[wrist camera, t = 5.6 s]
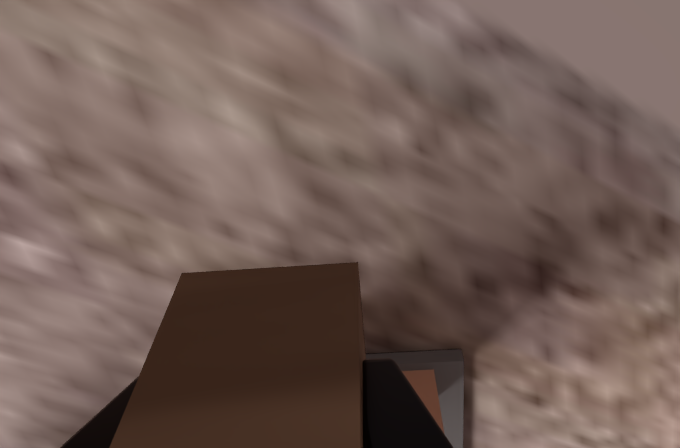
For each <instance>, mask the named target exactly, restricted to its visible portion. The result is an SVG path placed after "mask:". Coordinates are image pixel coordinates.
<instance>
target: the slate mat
mask: <svg viewBox="0 0 680 448" xmlns="http://www.w3.org/2000/svg"><path fill="white" fill-rule="evenodd" d="M378 358H391V359H393V360H394V361H395V362H396V363H397V365H398V366H399V368H400V369H401V371H413V370H432V369H434V374H435V380H436V386H437V392H438V398H439V404H440V410H441V416H442V422H443V428H444V434H445V436H446V437H447V439H448V440H449V441H450V443H451V444H452V446H453V447H454V448H463V408H464V358H463V354H462V350H461V349H454V350H435V351H417V352H398V353H380V354H366V359H378Z"/></svg>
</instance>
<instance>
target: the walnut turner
mask: <svg viewBox="0 0 680 448" xmlns="http://www.w3.org/2000/svg"><path fill="white" fill-rule="evenodd" d="M365 359H366V354H365V342H364V330H363V318H362V306H361V293H360V281H359V269H358V262H356V263H340V264H324V265H307V266H291V267H275V268H259V269H242V270H226V271H210V272H194V273H182V274H181V277H180V279H179V282H178V284H177V286H176V289H175V291H174V294H173V296H172V298H171V301H170V303H169V306H168V308H167V310H166V313H165V315H164V318H163V320H162V322H161V325H160V327H159V330H158V332H157V334H156V337H155V339H154V342H153V344H152V346H151V349H150V351H149V354H148V356H147V358H146V361H145V363H144V366H143V368H142V371H141V373H140V375H139V378H138V380H137V383H136V385H135V387H134V390H133V392H132V395H131V397H130V399H129V402H128V404H127V407H126V409H125V411H124V414H123V416H122V419H121V421H120V423H119V426H118V428H117V431H116V433H115V435H114V438H113V440H112V443H111V445H110V447H109V448H364V446H363V360H365Z"/></svg>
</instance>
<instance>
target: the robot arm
mask: <svg viewBox="0 0 680 448" xmlns="http://www.w3.org/2000/svg"><path fill="white" fill-rule="evenodd" d="M138 378H139V377H137V378H136V379H135V380H134V381H133V382H132V383H131V384H130V385H129V386H128V387H126V388H125V389H124V390H123V391H122V392H121V393H120V394H119V395H118V396H117V397H115V398H114V399H113V400H112V401H111V402H110V403H109V404H108V405H107V406H105V407H104V408H103V409H102V410H101V411H100V412H99V413H98V414H97V415H96V416H94V417H93V418H92V419H91V420H90V421H89V422H88V423H87V424H86V425H85V426H83V427H82V428H81V429H80V430H79V431H78V432H77V433H76V434H75V435H74V436H72V437H71V438H70V439H69V440H68V441H67V442H66V443H65V444H64V445H63V446H61V447H60V448H109V447H110V445H111V443H112V440H113V438H114V435H115V433H116V431H117V428H118V426H119V423H120V421H121V419H122V416H123V414H124V411H125V409H126V407H127V404H128V402H129V399H130V397H131V395H132V392H133V390H134V387H135V385H136V383H137V380H138ZM363 446H364V448H454V447H453V446H452V444H451V443H450V441H449V440H448V439H447V437H446V436H445V434H444V433H443V431H442V430H441V428H440V427H439V425H438V424H437V422H436V421H435V419H434V418H433V416H432V415H431V413H430V412H429V411H428V409H427V408H426V406H425V405H424V403H423V402H422V400H421V399H420V397H419V396H418V394H417V393H416V391H415V390H414V388H413V387H412V385H411V384H410V382H409V381H408V380H407V378H406V377H405V375H404V374H403V372H402V371H401V369H400V368H399V366H398V365H397V363H396V362H395V361H394V360H393V359H391V358H378V359H365V360H363Z"/></svg>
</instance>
